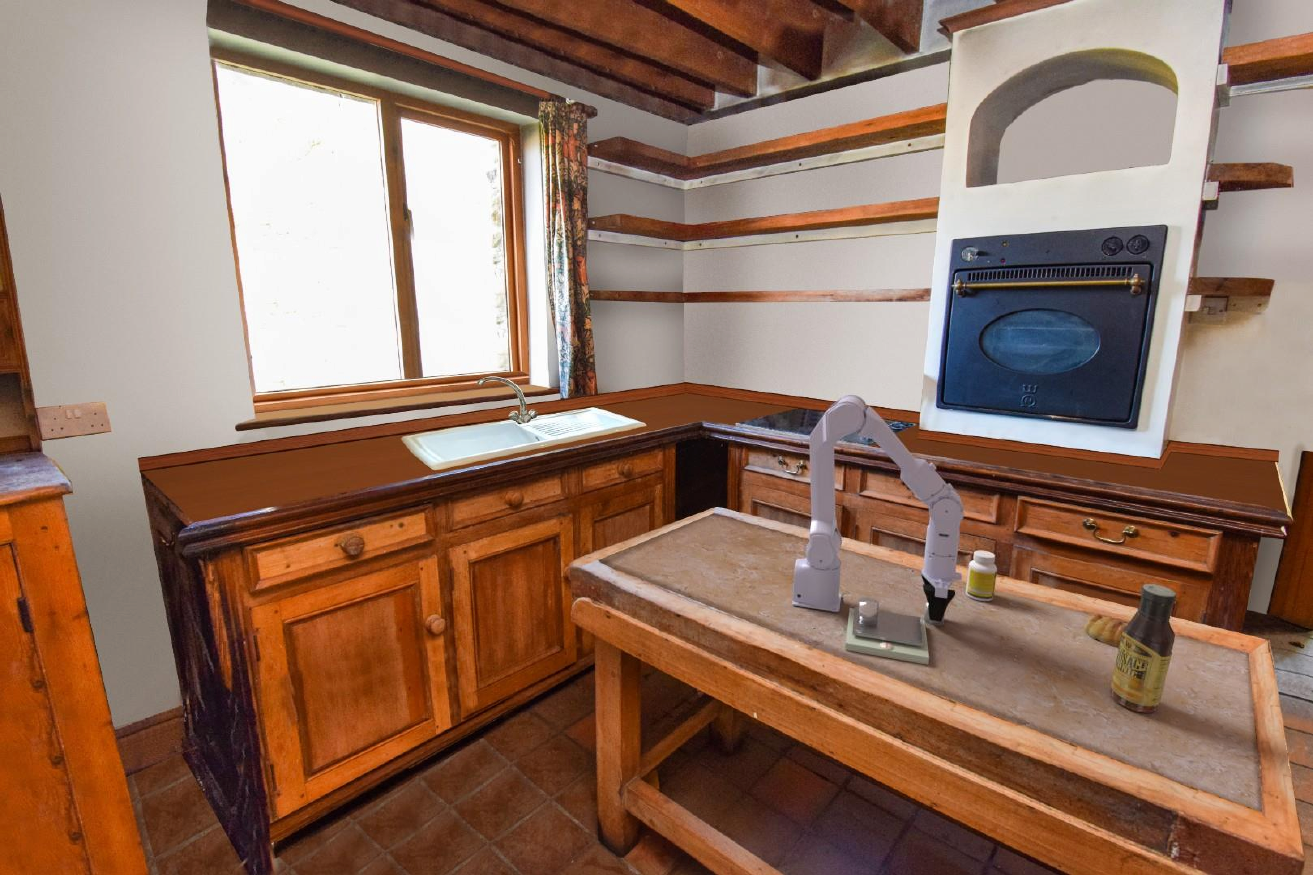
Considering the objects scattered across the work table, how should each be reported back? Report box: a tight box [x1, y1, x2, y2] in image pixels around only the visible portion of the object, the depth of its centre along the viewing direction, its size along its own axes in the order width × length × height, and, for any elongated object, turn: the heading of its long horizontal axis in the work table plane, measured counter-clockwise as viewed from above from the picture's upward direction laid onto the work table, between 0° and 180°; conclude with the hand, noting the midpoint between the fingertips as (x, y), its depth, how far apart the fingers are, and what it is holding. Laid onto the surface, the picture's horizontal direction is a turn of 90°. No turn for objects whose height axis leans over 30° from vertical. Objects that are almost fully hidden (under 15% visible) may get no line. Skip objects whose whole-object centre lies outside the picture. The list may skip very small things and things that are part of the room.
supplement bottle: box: [965, 550, 998, 602], centre depth 131 cm, size 5×5×10 cm
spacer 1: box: [858, 596, 880, 626], centre depth 117 cm, size 4×4×4 cm
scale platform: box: [852, 606, 923, 646], centre depth 117 cm, size 12×10×2 cm
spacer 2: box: [923, 599, 946, 627], centre depth 122 cm, size 4×4×4 cm
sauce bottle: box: [1110, 583, 1177, 714], centre depth 95 cm, size 6×6×20 cm
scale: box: [844, 607, 930, 666], centre depth 116 cm, size 14×14×2 cm
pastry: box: [1083, 612, 1127, 649], centre depth 115 cm, size 9×7×4 cm
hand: (934, 615), depth 122 cm, fingers closed on spacer 2, 4 cm apart
